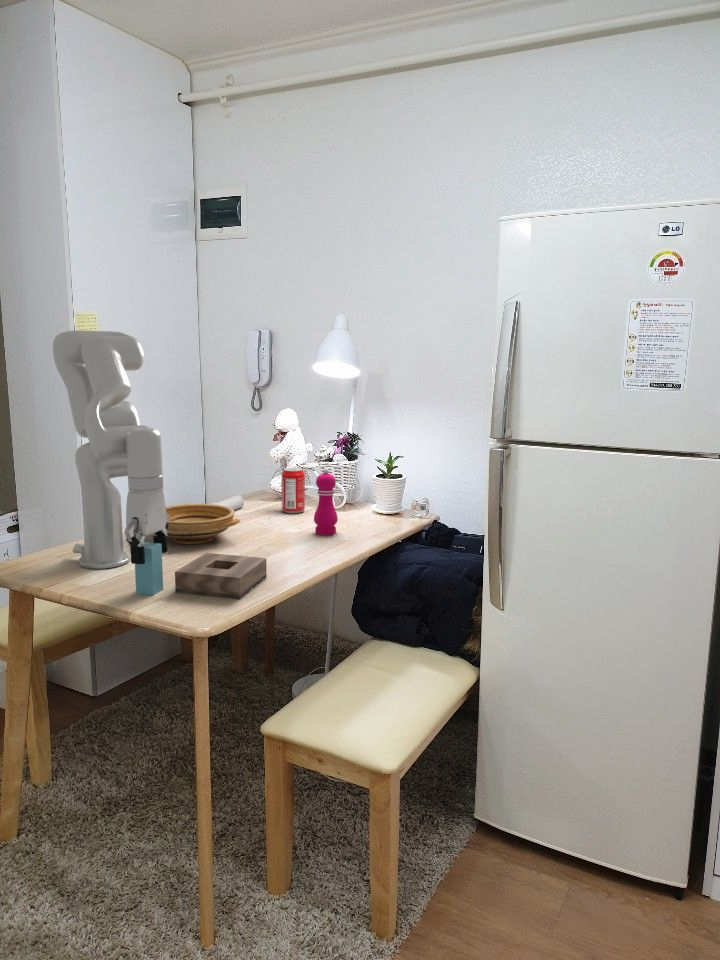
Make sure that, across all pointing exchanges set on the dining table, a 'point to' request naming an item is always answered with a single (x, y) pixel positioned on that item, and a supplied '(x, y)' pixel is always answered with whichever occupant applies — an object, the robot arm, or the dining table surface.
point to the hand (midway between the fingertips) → (149, 557)
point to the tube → (232, 502)
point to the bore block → (220, 575)
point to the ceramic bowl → (198, 522)
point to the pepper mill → (325, 505)
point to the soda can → (293, 490)
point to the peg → (150, 570)
